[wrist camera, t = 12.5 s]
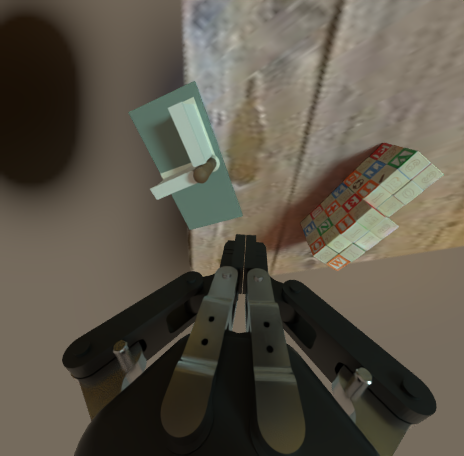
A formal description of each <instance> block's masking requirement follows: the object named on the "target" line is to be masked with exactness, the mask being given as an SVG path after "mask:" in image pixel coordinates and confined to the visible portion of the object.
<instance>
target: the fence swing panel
mask: <svg viewBox="0 0 464 456" xmlns="http://www.w3.org/2000/svg"><path fill="white" fill-rule="evenodd" d="M199 166H200V165H199ZM199 166H196V167H193V166H192V167H189V168H187V169H185V170H183V171H180V172H178V173H176V174H174V175H171V176H169V177H167V178H165V179H164V180H163V181H161V182H160V183H159V184H157V185H156V186H154V187H152V188H151V189H150V190H151V191H152V193H153V194H154V196H155V198H156V199H157V200H158V199H160V198H162V197H165V196H167V195H170V194H172V193H175V192H177V191H179V190H182V189H184V188H187V187H189V186H191V185H194V184H196V183H197V182H196V181H195V180H194V178H193V172H194V171H195V169H197V168H198V167H199Z"/></svg>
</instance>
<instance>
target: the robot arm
mask: <svg viewBox="0 0 464 456" xmlns="http://www.w3.org/2000/svg"><path fill="white" fill-rule="evenodd" d="M245 237H246V249H245ZM244 254H245V263H244ZM243 268H244V279H243ZM242 282H243V294H246V297H245V298H246V299H245V317H246V318H245V321H246V332H244V333H236V332H233V331H232V328H233V322H234V317H235V312H236V311H235V310H236V306H237V301H238V294H241V293H242ZM192 323H194V325H193V328H192V331H191V333H190V334H188V335H186V336H184V337H183V338H181V339H180V340H179V341H178V342H177V343H175V344H174V345H173V346H172V347H171V348H170V349H169V350H168V351H166V352H165V353H164V354H163V355H162V356H161V357H160V358H159V359H157V360H156V361H155V362H154V363H153V364H152V365H151V366H150V367H148V368H147V369H146V370H145V368H146V363H147V362H146V361H147V360H149V359H150V358H151V357H152V356H153V355H155V354H156V353H157V352H158V351H159V350H161V349H162V348H163V347H164V346H166V345H167V344H168V343H169V342H171V341H172V340H173V339H174V338H175V337H177V336H178V335H179V334H180V333H182V332H183V331H184V330H185V329H186V328H187V327H189V326H190V325H191V324H192ZM283 329H284V330H285V331H286V332H287V333H288V334H289V335H290V337H291V338H292V339H293V340H294V341H295V342H296V343H297V344H298V346H299V347H300V348H301V349H302V350H303V351H304V352H305V353H306V355H307V356H308V357H309V358H310V359H311V360H312V361H313V362H314V363H315V365H316V366H317V367H318V368H319V369H320V370H321V372H322V373H323V374H324V375H325V376H326V377H327V378H328V379H329V381H330V382H331V383H332V392H333V395H334V397H333V396H332V394H331V393H330V392H329V391H328V390H327V388H326V387H325V386H324V385H323V384H322V382H321V381H320V380H319V379H318V377H317V376H316V375H315V374H314V372H313V371H312V370H311V369H310V367H309V366H308V365H307V364H306V362H305V361H304V360H303V359H302V358H301V356H300V355H299V354H298V353H297V352H296V351H295V350H294V349H293V348H292V347H291V346H290V345H288V344H287V343H286V340H285V335H284V330H283ZM62 362H63V364H64V366H65V367H66V368H67V369H68V371H70V373H71V376H72V377H73V378H74V379H75V380H76V381H77V383H79V385H80V386H81V389H82V393H83V396H84V399H85V402H86V405H87V408H88V412H89V415H90V418H91V423H90V424H89V425H88V427H87V429H86V430H85V432H84V434H83V435H82V437H81V439H80V441H79V444H78V446H77V449H76V451H75V454H74V456H393V454H394V452H395V451H396V449H397V447H398V445H399V444H400V442H401V440H402V439H403V437H404V435H405V433H406V432H407V431H408V430H409V429H411V428H412V427H414V426H415V425H417V424H419V423H420V422H421V421H423V420H425V419H426V418H428V417H429V416H431V415H432V414H434V413H435V411H436V401H435V399H434V396H433V394H432V393H431V391H430V390H429V388H428V387H427V386H426V385H425V384H424V383H423V382H422V381H421V380H420V379H419V378H418V377H417V376H415V375H414V374H413V373H412V372H410V371H409V370H408V369H407V368H406V367H404V366H403V365H402V364H401V363H399V362H398V361H397V360H396V359H395V358H393V357H392V356H391V355H390V354H388V353H387V352H386V351H385V350H383V349H382V348H381V347H380V346H379V345H378V344H376V343H375V342H374V341H373V340H371V339H370V338H369V337H368V336H366V335H365V334H364V333H363V332H362V331H360V330H359V329H357V327H355V326H354V325H353V324H352V323H351V322H349V321H348V320H347V319H346V318H344V317H343V316H342V315H341V314H340V313H338V312H337V311H336V310H335V309H333V308H332V307H331V306H330V305H328V304H327V303H326V302H325V301H324V300H322V299H321V298H320V297H319V296H318V295H316V294H315V293H314V292H313V291H311V290H310V289H309V288H308V287H307V286H305V285H304V284H303V283H301V282H299V281H296V280H288V281H286V282H285V283H281V282H278V281H276V280H274V279H273V278H271V277H270V275H269V273H268V266H267V253H266V246H265V245H264V244H263V243H261V242H256V235H240V234H236V238H235V241H231V240H228V242H227V243H226V244H225V246H224V251H223V255H222V259H221V264H220V268H219V269H218V270H217V271H216V273H215V274H213V275H210V276H205V277H202V275H201V274H200V273H198V272H195V271H191V272H187V273H185V274H183V275H181V276H180V277H178V278H176V279H175V280H173V281H172V282H170V283H168V284H167V285H165V286H163V287H162V288H160V289H158V290H157V291H155V292H154V293H152V294H150V295H149V296H147V297H145V298H144V299H142V300H140V301H139V302H137V303H135V304H134V305H132V306H130V307H129V308H127V309H126V310H124V311H122V312H121V313H119V314H117V315H116V316H114V317H112V318H111V319H109V320H107V321H106V322H104V323H103V324H101V325H99V326H98V327H96V328H94V329H93V330H91V331H89V332H88V333H86V334H84V335H83V336H81V337H80V338H78V339H76V340H75V341H74V342H73V343H72V344H71V345H70V346H69V347H68V348H67V349H66V351H65V353H64V355H63V359H62ZM144 370H145V371H144Z"/></svg>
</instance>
